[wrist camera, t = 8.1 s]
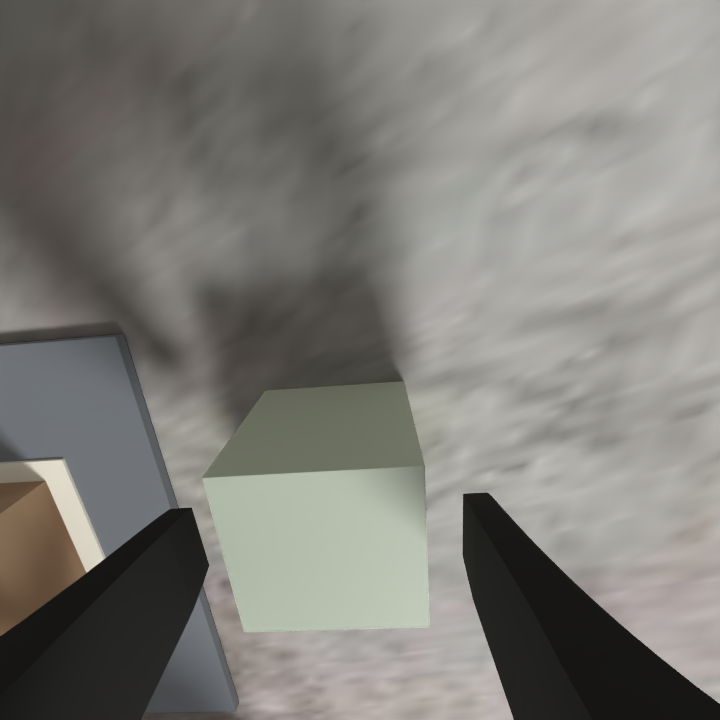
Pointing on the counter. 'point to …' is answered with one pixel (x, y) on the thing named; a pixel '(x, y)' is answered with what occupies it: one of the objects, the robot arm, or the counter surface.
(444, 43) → the counter surface
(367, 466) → the sage block
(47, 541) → the walnut block
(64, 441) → the mat
